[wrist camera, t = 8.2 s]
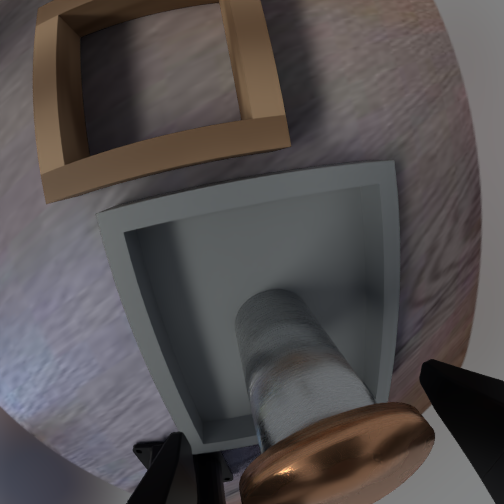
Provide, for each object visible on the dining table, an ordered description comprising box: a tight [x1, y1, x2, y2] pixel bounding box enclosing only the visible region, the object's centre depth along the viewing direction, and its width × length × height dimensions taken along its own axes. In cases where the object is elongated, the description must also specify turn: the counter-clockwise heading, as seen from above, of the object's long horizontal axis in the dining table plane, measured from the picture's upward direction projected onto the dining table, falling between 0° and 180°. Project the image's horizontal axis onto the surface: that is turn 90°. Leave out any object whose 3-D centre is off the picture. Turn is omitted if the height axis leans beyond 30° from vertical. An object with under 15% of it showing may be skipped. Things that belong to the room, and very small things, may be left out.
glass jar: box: [235, 289, 435, 504], centre depth 10 cm, size 6×6×10 cm
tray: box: [96, 160, 400, 454], centre depth 14 cm, size 15×13×2 cm
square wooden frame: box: [33, 0, 291, 204], centre depth 10 cm, size 10×10×3 cm
